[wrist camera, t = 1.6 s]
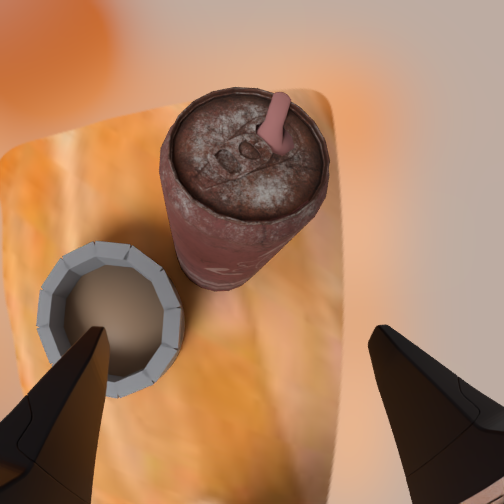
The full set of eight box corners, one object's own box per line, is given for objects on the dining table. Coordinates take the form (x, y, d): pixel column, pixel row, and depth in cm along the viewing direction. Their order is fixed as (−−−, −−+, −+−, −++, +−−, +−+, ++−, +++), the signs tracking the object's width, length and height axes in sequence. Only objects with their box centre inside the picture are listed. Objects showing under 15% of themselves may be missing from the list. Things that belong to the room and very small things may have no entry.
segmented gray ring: (181, 397, 20) (178, 409, 17) (53, 376, 18) (32, 381, 15) (190, 259, 23) (190, 247, 19) (65, 246, 21) (47, 232, 18)
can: (268, 222, 24) (347, 106, 11) (247, 302, 23) (324, 259, 9) (193, 199, 24) (198, 59, 10) (166, 278, 22) (126, 198, 9)
